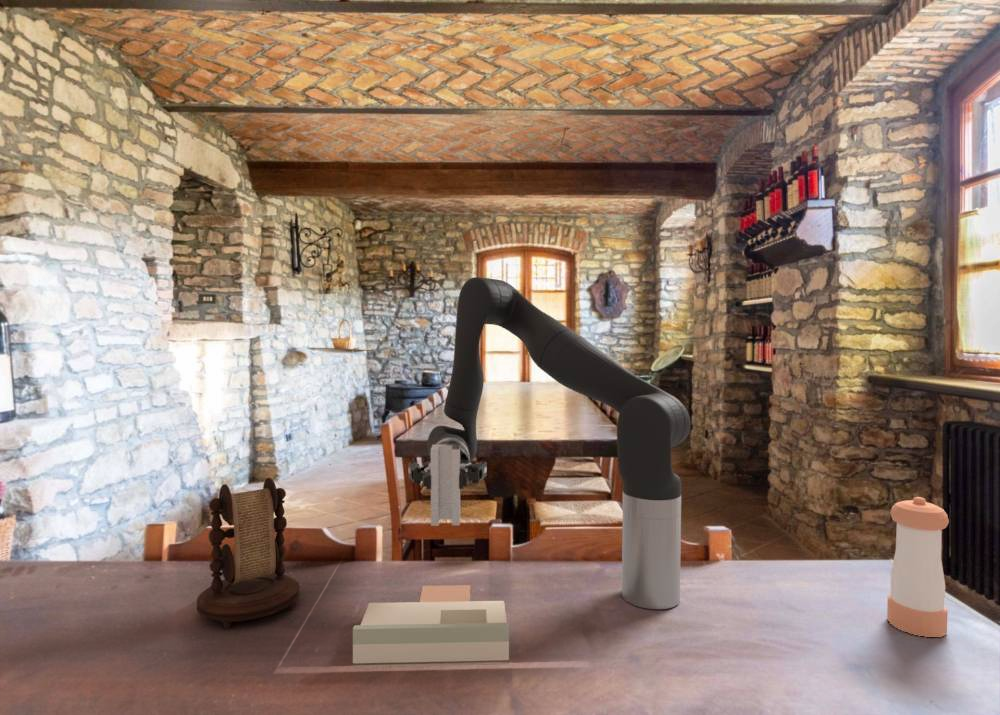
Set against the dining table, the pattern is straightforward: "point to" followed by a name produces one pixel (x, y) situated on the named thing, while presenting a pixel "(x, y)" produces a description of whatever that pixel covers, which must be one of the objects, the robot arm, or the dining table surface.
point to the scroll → (248, 557)
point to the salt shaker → (918, 569)
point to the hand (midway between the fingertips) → (445, 482)
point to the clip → (445, 483)
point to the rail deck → (432, 633)
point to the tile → (445, 593)
